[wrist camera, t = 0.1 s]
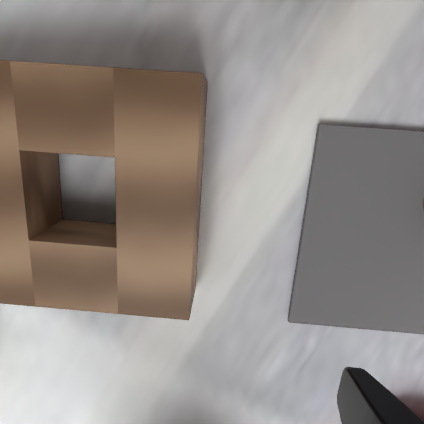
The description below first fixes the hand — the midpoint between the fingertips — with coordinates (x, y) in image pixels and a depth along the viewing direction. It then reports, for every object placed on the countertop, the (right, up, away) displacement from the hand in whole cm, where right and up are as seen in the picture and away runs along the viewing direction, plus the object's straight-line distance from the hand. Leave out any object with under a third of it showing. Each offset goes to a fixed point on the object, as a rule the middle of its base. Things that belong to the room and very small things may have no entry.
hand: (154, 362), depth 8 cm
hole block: (-6, +5, +14) cm, 16 cm away
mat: (+13, +2, +14) cm, 20 cm away
